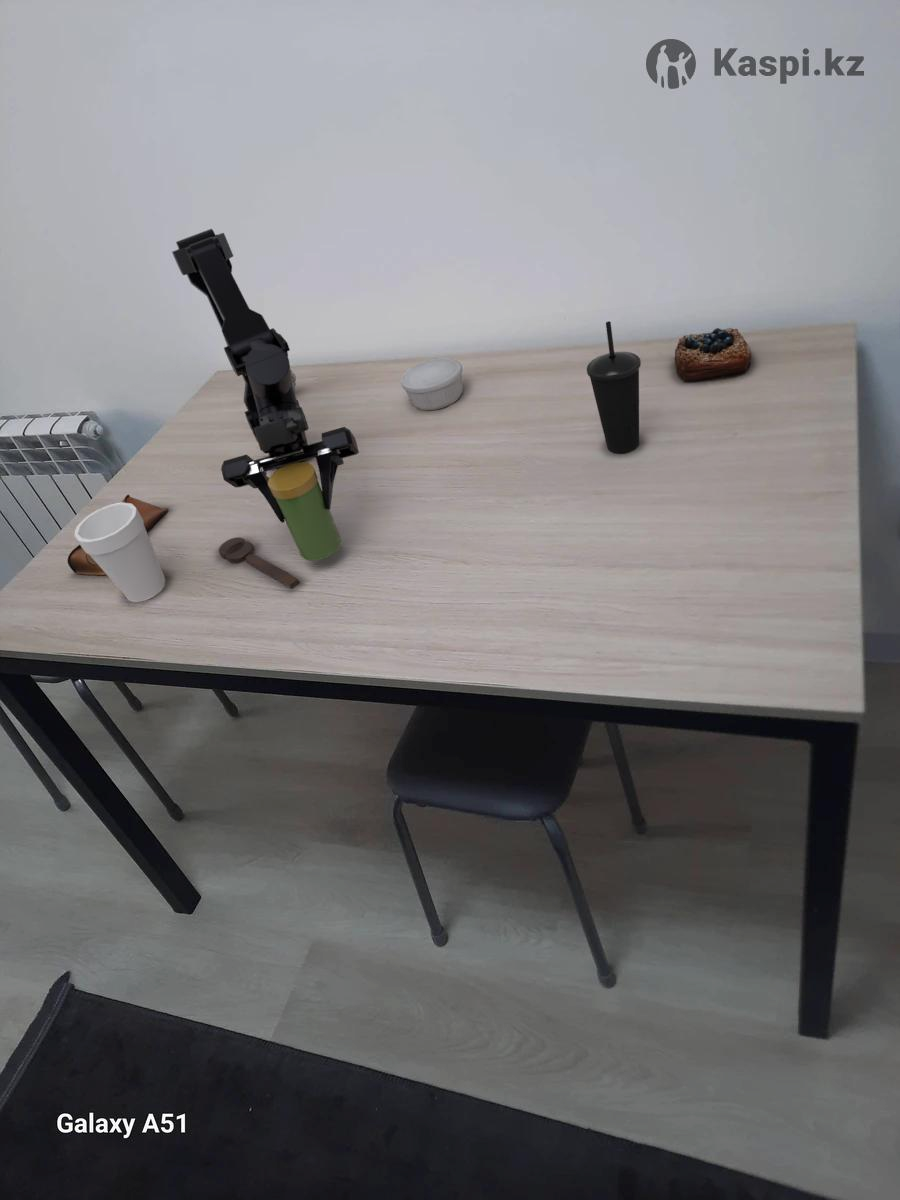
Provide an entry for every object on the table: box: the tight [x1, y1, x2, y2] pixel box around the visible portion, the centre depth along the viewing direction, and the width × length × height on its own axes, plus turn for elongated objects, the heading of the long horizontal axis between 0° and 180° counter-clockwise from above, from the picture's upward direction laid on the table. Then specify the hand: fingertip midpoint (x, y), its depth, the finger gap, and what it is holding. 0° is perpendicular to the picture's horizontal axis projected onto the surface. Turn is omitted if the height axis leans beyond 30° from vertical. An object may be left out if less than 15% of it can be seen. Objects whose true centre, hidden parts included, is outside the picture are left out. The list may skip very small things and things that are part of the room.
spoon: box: [218, 536, 301, 590], centre depth 130 cm, size 19×4×1 cm, turn 45°
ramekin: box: [400, 357, 464, 411], centre depth 155 cm, size 11×11×5 cm
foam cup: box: [73, 501, 166, 603], centre depth 129 cm, size 10×9×13 cm
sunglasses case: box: [67, 494, 169, 576], centre depth 144 cm, size 18×7×7 cm, turn 161°
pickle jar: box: [268, 461, 342, 561], centre depth 121 cm, size 7×7×12 cm
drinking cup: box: [586, 321, 642, 455], centre depth 125 cm, size 8×8×20 cm
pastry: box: [674, 327, 752, 384], centre depth 141 cm, size 11×12×6 cm
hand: (305, 515), depth 120 cm, fingers closed on pickle jar, 6 cm apart
